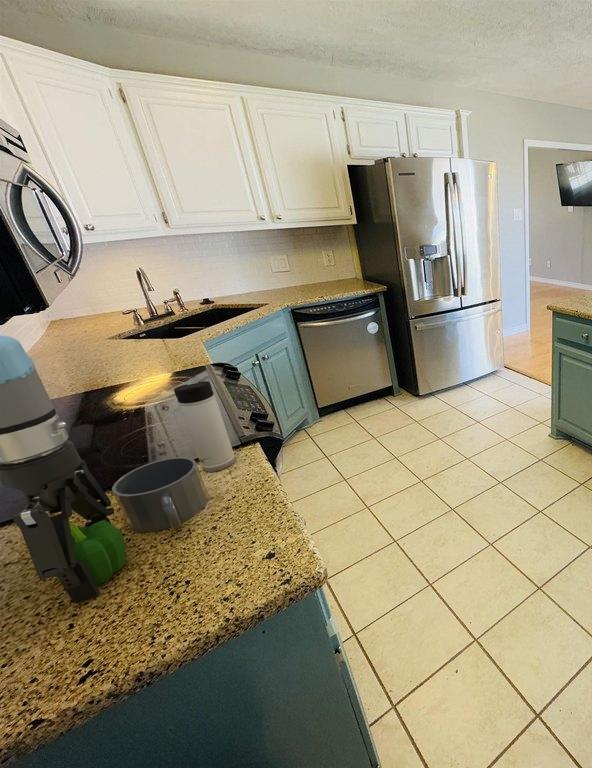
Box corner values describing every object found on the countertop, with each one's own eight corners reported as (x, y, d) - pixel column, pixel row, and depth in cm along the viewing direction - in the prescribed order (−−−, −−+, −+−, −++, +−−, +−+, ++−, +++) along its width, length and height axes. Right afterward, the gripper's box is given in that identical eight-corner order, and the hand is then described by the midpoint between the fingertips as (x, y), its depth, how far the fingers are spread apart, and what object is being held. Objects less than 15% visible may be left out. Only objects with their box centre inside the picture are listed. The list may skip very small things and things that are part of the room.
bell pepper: (143, 568, 65) (118, 518, 61) (72, 607, 58) (39, 554, 55) (124, 547, 69) (100, 499, 65) (56, 581, 63) (25, 530, 59)
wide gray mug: (126, 511, 78) (109, 476, 75) (201, 482, 86) (188, 450, 83) (136, 554, 68) (117, 516, 64) (220, 517, 76) (207, 482, 72)
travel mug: (203, 476, 88) (171, 392, 80) (202, 462, 93) (172, 381, 85) (237, 466, 91) (209, 384, 83) (234, 453, 96) (208, 375, 88)
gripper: (25, 487, 47) (104, 620, 56) (100, 412, 66) (151, 522, 74) (-70, 506, 44) (29, 644, 53) (37, 423, 63) (98, 536, 71)
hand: (100, 573), depth 64 cm, fingers open, 9 cm apart
